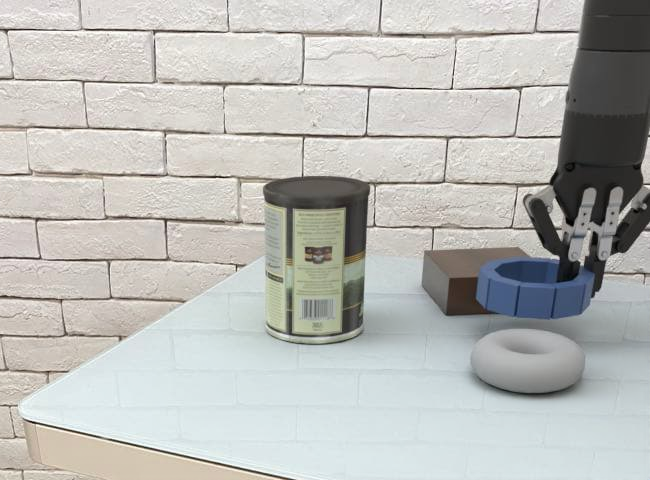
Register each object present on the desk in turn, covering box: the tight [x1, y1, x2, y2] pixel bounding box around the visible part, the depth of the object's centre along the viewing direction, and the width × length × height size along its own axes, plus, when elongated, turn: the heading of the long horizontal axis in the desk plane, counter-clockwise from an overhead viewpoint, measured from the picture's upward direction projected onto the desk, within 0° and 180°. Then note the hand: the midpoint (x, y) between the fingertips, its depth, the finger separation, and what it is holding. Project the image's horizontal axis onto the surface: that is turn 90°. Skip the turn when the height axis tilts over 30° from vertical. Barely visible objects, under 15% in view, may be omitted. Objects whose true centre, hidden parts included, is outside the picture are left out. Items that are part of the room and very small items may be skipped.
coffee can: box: [262, 175, 371, 345], centre depth 96 cm, size 10×10×14 cm
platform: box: [421, 246, 531, 316], centre depth 106 cm, size 11×11×4 cm
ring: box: [476, 256, 595, 321], centre depth 94 cm, size 10×11×3 cm
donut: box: [469, 328, 586, 394], centre depth 86 cm, size 10×4×10 cm
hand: (577, 295), depth 95 cm, fingers closed on ring, 1 cm apart
